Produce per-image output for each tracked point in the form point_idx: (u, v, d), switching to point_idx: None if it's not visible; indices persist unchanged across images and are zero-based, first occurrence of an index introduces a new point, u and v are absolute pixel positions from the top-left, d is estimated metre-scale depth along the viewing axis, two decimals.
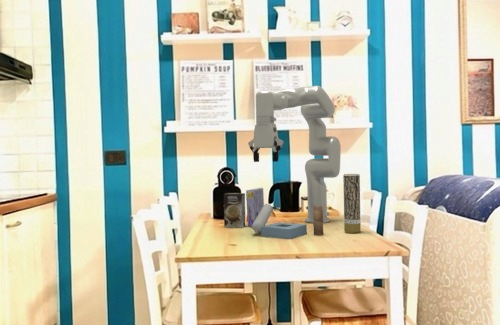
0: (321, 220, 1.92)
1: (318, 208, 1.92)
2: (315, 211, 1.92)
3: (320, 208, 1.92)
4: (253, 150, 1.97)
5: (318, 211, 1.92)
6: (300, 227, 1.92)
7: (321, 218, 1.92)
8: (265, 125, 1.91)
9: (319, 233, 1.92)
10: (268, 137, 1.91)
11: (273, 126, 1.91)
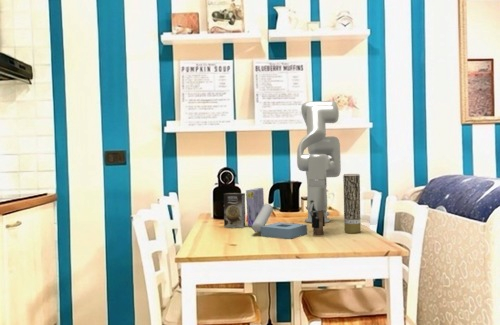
0: (321, 220, 1.92)
1: None
2: None
3: None
4: (317, 216, 1.91)
5: None
6: (300, 227, 1.92)
7: (321, 218, 1.92)
8: (324, 188, 1.94)
9: (319, 233, 1.92)
10: (326, 200, 1.95)
11: None
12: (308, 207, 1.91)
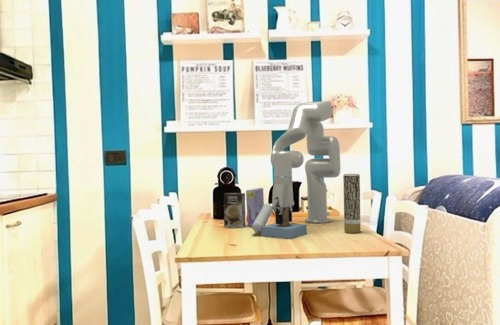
0: (287, 220, 1.93)
1: (283, 209, 1.93)
2: None
3: (286, 209, 1.93)
4: (280, 212, 1.90)
5: (283, 211, 1.93)
6: (300, 227, 1.92)
7: (287, 218, 1.93)
8: (290, 185, 1.94)
9: None
10: (291, 196, 1.96)
11: None
12: None
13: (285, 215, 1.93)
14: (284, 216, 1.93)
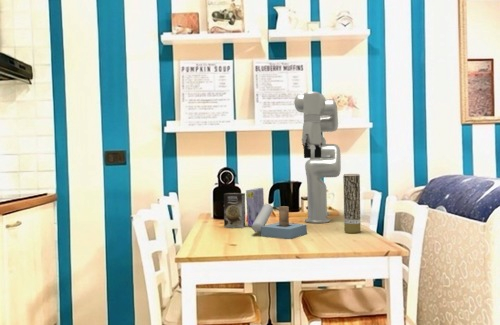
0: (287, 220, 1.93)
1: (283, 209, 1.93)
2: (281, 212, 1.93)
3: (285, 209, 1.93)
4: (308, 146, 2.02)
5: (283, 211, 1.93)
6: (300, 227, 1.92)
7: (287, 218, 1.93)
8: (318, 124, 2.07)
9: None
10: (320, 135, 2.08)
11: None
12: None
13: (285, 215, 1.93)
14: (284, 216, 1.93)
